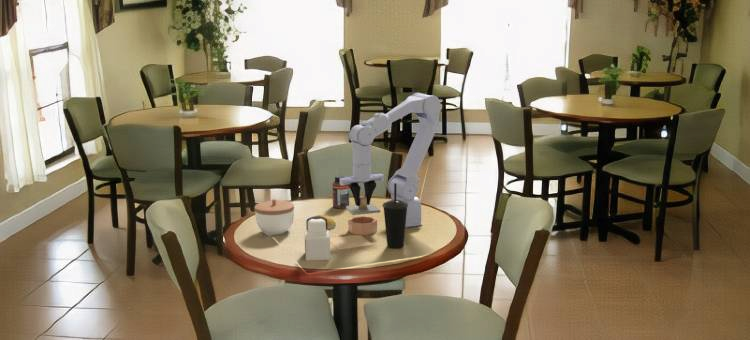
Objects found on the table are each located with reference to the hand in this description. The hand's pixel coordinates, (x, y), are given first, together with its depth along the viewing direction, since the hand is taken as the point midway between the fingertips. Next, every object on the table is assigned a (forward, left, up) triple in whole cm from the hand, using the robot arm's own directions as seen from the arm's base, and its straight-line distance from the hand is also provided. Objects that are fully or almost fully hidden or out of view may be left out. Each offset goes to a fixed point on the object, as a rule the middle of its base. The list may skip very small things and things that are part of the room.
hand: (362, 204), depth 246 cm
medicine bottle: (+21, +17, -9) cm, 29 cm away
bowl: (0, 0, -9) cm, 9 cm away
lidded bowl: (+26, -11, -9) cm, 30 cm away
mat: (+8, +9, -9) cm, 15 cm away
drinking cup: (-3, +18, -9) cm, 21 cm away
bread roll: (+10, -10, -10) cm, 17 cm away
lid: (0, 0, -2) cm, 2 cm away
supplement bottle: (-4, -31, -9) cm, 33 cm away
